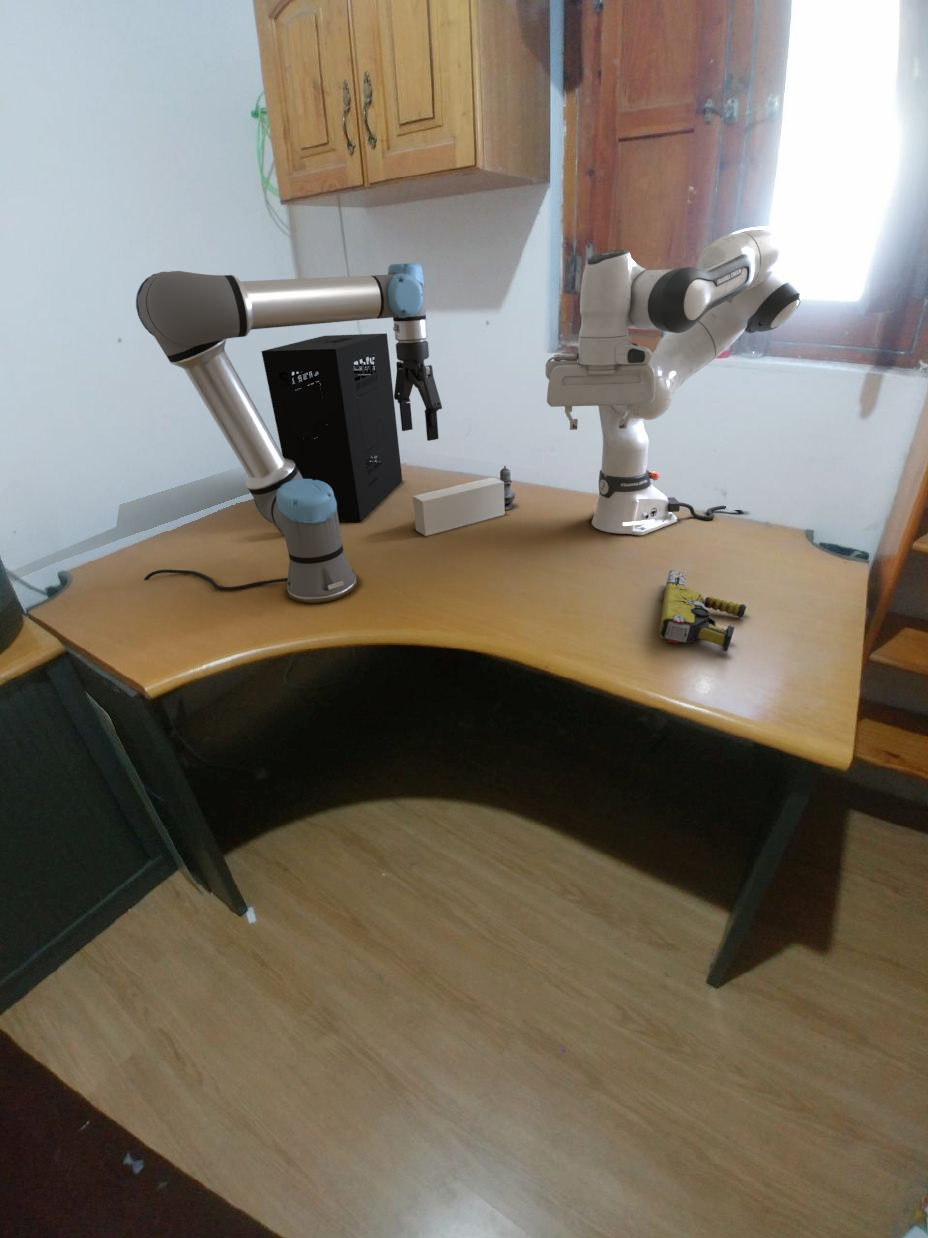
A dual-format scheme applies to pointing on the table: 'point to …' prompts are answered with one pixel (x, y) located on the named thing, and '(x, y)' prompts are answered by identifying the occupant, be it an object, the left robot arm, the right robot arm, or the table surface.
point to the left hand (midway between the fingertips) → (419, 434)
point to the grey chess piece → (507, 489)
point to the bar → (458, 506)
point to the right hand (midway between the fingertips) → (597, 428)
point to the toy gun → (693, 614)
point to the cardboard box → (338, 416)
